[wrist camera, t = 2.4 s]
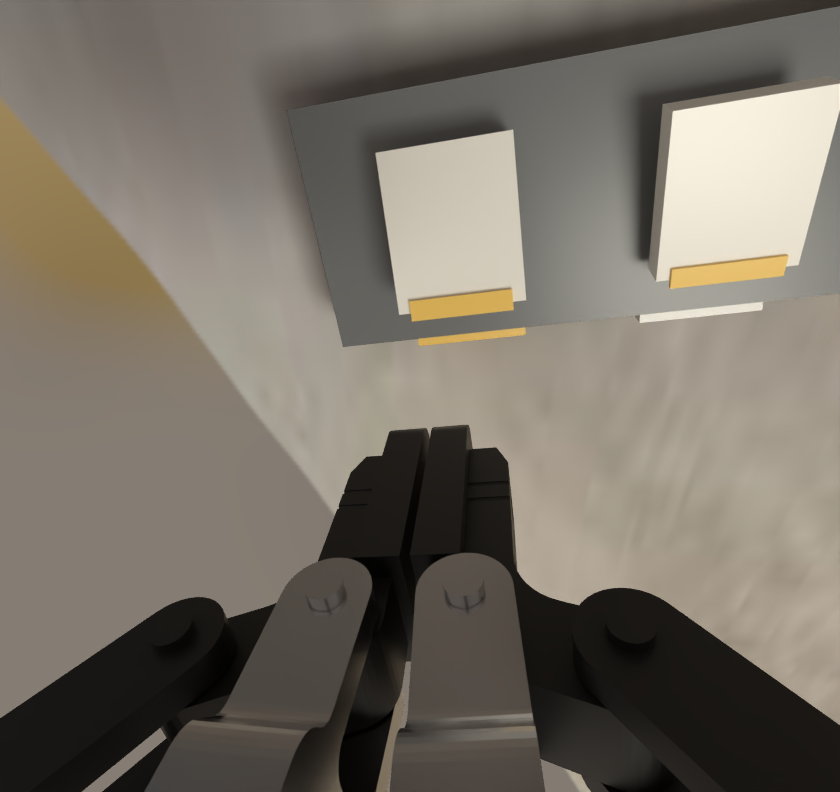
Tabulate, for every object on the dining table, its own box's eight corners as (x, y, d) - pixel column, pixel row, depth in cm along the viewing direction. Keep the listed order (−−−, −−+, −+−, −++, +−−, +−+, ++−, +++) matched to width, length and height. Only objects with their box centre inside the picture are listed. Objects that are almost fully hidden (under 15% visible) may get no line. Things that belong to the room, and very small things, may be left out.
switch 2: (662, 104, 18) (674, 112, 17) (826, 76, 17) (850, 82, 16) (647, 275, 22) (656, 290, 21) (782, 259, 21) (798, 274, 20)
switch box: (315, 109, 24) (286, 110, 21) (1174, -51, 19) (1330, -87, 16) (362, 328, 29) (345, 358, 26) (1060, 249, 24) (1159, 274, 20)
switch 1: (381, 156, 21) (374, 152, 20) (512, 134, 20) (513, 128, 19) (405, 317, 23) (399, 322, 21) (525, 303, 22) (526, 308, 21)
